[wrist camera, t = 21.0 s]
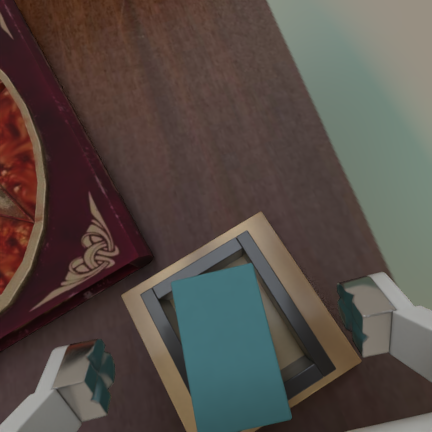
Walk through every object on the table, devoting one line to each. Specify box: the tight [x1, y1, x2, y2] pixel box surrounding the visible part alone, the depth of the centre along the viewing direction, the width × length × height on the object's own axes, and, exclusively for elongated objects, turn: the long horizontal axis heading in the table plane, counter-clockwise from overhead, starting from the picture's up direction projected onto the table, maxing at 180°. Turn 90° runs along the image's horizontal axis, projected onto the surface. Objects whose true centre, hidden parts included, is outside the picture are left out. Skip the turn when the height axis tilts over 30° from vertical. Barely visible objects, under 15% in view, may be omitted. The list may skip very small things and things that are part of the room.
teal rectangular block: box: [171, 263, 292, 432], centre depth 15 cm, size 3×5×10 cm, turn 13°
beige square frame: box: [121, 212, 362, 432], centre depth 20 cm, size 11×11×4 cm
